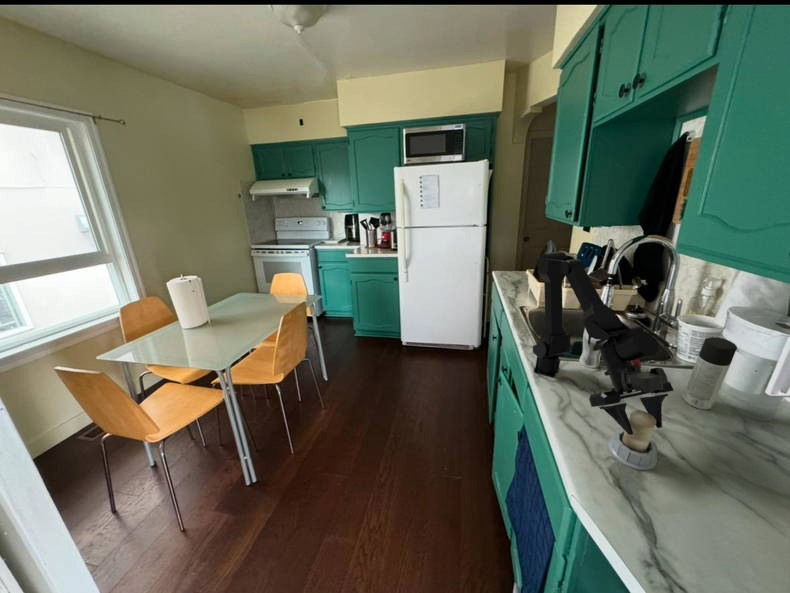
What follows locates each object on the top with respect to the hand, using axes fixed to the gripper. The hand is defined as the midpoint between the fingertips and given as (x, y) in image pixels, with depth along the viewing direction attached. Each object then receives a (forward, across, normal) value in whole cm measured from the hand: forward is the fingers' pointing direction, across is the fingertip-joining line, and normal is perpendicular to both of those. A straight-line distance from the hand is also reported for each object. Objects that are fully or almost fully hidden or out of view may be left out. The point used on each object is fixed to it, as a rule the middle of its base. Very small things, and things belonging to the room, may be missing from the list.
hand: (645, 431), depth 82 cm
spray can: (-2, +32, +14) cm, 35 cm away
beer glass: (-19, +16, +31) cm, 40 cm away
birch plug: (+4, 0, +6) cm, 8 cm away
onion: (-13, +23, +25) cm, 36 cm away
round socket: (+5, 0, +7) cm, 8 cm away
